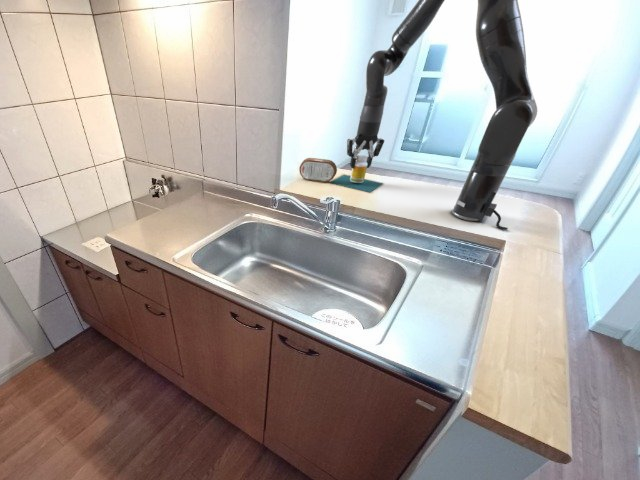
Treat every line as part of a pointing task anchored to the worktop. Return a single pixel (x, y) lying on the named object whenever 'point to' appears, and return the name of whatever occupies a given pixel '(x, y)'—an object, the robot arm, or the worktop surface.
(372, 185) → the mat
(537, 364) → the worktop surface
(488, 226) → the worktop surface
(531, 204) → the worktop surface
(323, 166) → the tin
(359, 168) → the supplement bottle
